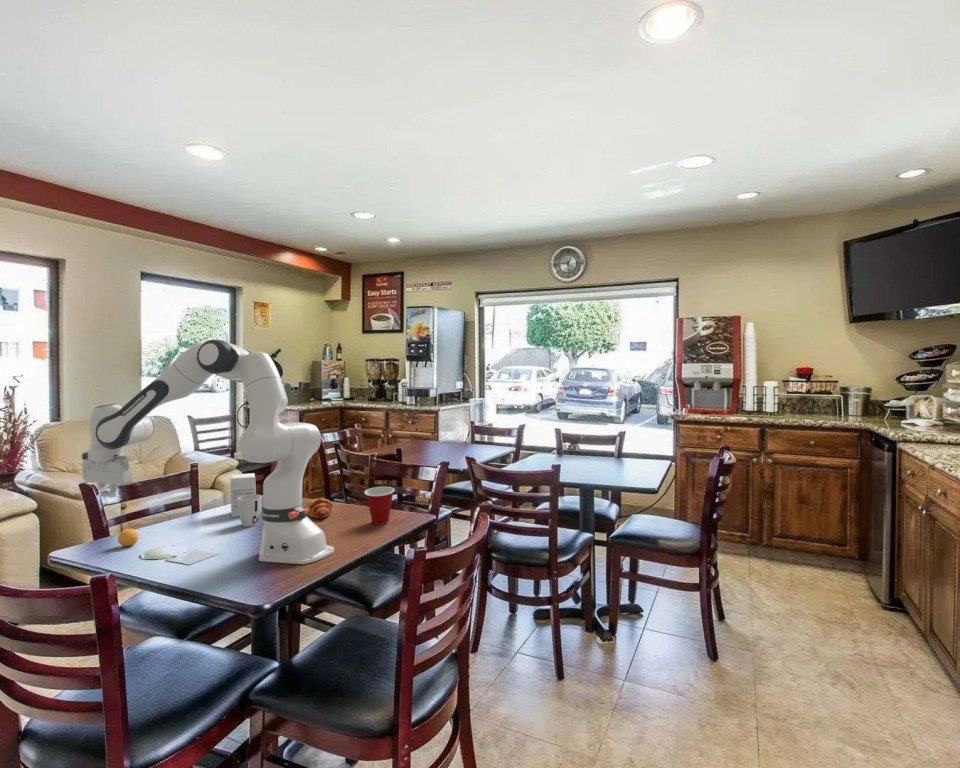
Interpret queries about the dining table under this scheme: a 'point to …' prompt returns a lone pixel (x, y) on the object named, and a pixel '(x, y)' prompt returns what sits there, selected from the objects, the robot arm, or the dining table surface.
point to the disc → (158, 553)
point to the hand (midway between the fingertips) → (108, 496)
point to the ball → (128, 537)
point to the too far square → (194, 557)
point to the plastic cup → (379, 503)
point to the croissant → (319, 508)
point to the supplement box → (241, 489)
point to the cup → (249, 509)
